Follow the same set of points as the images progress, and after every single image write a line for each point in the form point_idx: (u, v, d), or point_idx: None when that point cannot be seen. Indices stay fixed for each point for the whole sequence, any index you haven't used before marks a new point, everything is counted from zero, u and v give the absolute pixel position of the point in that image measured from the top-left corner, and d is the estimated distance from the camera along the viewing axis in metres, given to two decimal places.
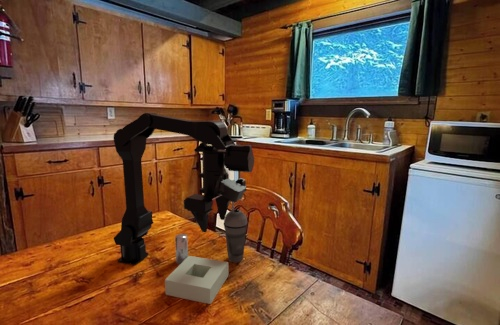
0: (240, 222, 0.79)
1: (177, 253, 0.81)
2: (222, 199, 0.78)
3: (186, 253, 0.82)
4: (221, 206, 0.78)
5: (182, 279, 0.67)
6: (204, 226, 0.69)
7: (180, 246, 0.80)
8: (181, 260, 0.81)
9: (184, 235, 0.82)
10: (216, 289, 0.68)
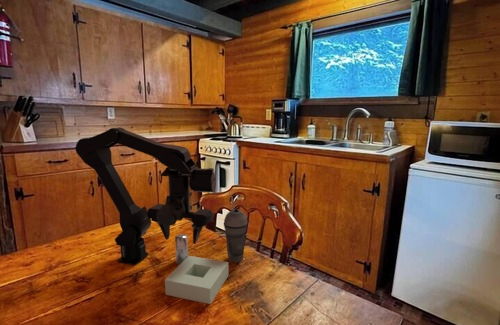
0: (240, 222, 0.79)
1: (177, 253, 0.81)
2: None
3: (186, 253, 0.82)
4: None
5: (182, 279, 0.67)
6: None
7: (180, 246, 0.80)
8: (181, 260, 0.81)
9: (184, 235, 0.82)
10: (216, 289, 0.68)
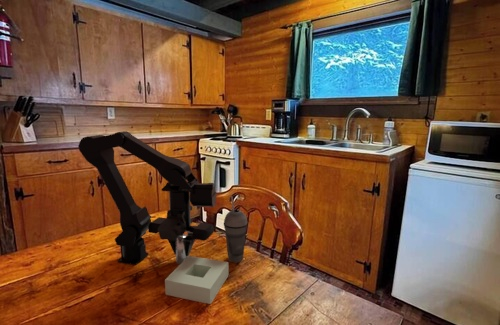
0: (240, 222, 0.79)
1: (177, 253, 0.81)
2: None
3: None
4: None
5: (182, 279, 0.67)
6: None
7: (180, 246, 0.80)
8: (181, 260, 0.81)
9: (184, 235, 0.82)
10: (216, 289, 0.68)
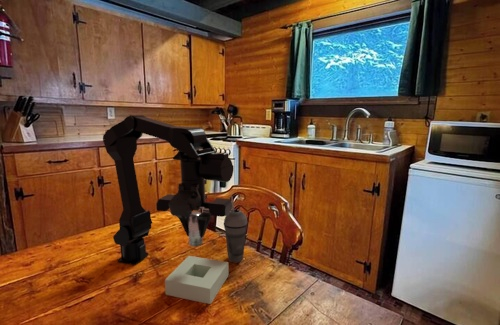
0: (240, 222, 0.79)
1: (190, 234, 0.70)
2: None
3: None
4: None
5: (182, 279, 0.67)
6: None
7: (194, 225, 0.69)
8: (195, 242, 0.70)
9: (198, 213, 0.71)
10: (216, 289, 0.68)
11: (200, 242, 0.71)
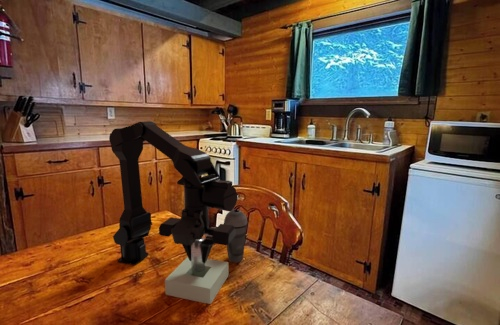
0: (240, 222, 0.79)
1: (193, 259, 0.69)
2: None
3: None
4: None
5: (182, 279, 0.67)
6: None
7: (197, 251, 0.68)
8: (197, 267, 0.69)
9: None
10: (216, 289, 0.68)
11: (202, 268, 0.70)
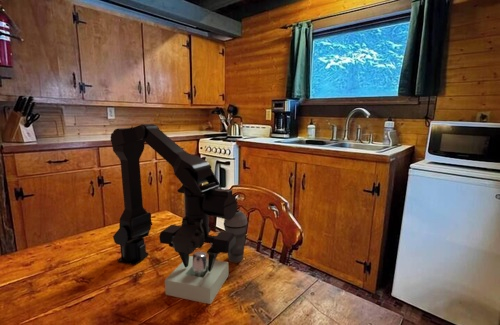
0: (240, 222, 0.79)
1: (194, 274, 0.70)
2: None
3: (204, 275, 0.71)
4: None
5: (182, 279, 0.67)
6: None
7: (199, 266, 0.69)
8: None
9: (203, 254, 0.71)
10: (216, 289, 0.68)
11: None
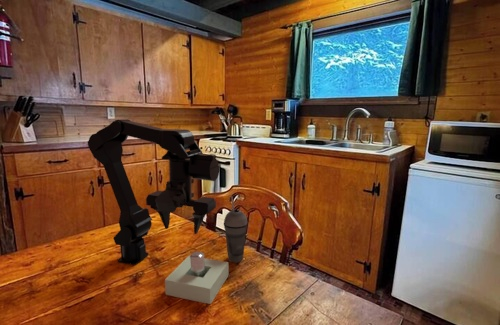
0: (240, 222, 0.79)
1: (193, 275, 0.70)
2: None
3: (203, 274, 0.70)
4: None
5: (182, 279, 0.67)
6: None
7: (197, 266, 0.69)
8: None
9: (200, 253, 0.71)
10: (216, 289, 0.68)
11: None
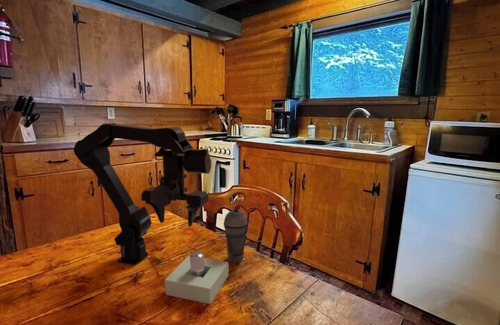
0: (240, 222, 0.79)
1: (193, 275, 0.70)
2: None
3: (203, 274, 0.70)
4: None
5: (182, 279, 0.67)
6: None
7: (196, 266, 0.69)
8: None
9: (200, 253, 0.71)
10: (216, 289, 0.68)
11: None
